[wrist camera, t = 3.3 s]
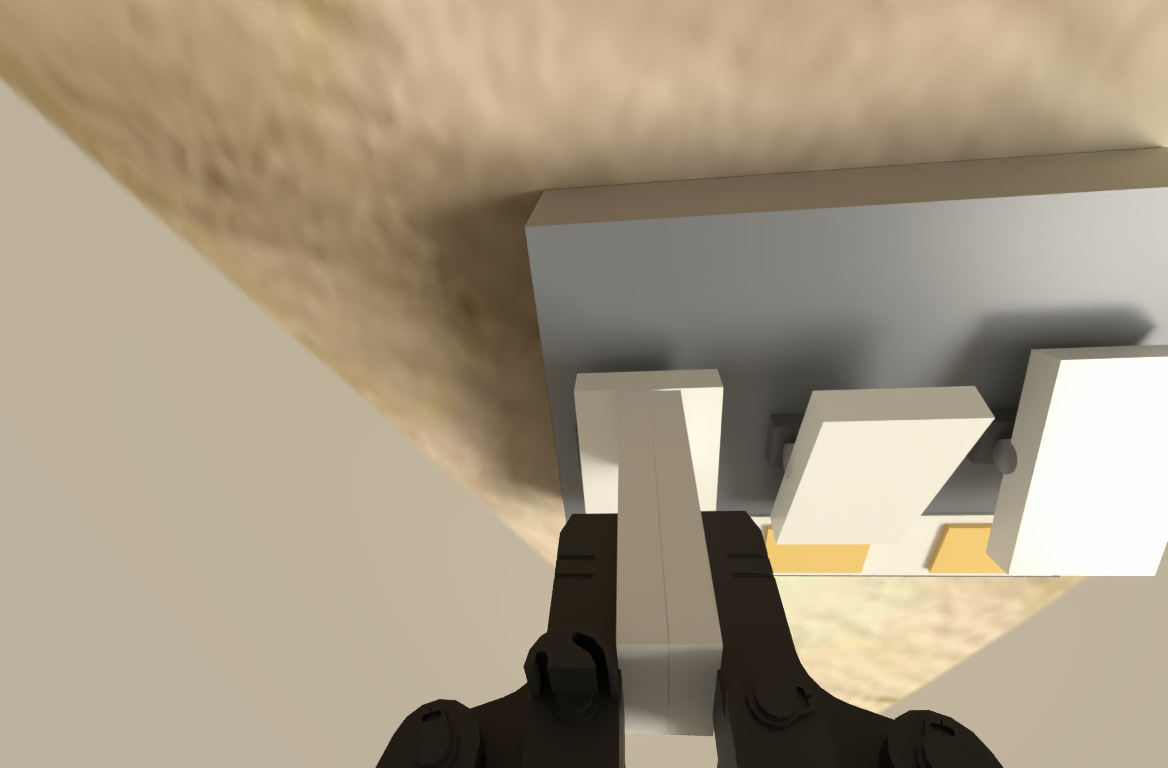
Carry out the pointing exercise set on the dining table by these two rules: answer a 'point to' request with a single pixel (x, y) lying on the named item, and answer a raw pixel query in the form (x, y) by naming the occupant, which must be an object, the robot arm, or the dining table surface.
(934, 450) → the switch
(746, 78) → the dining table surface
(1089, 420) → the switch
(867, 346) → the panel
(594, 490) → the switch
